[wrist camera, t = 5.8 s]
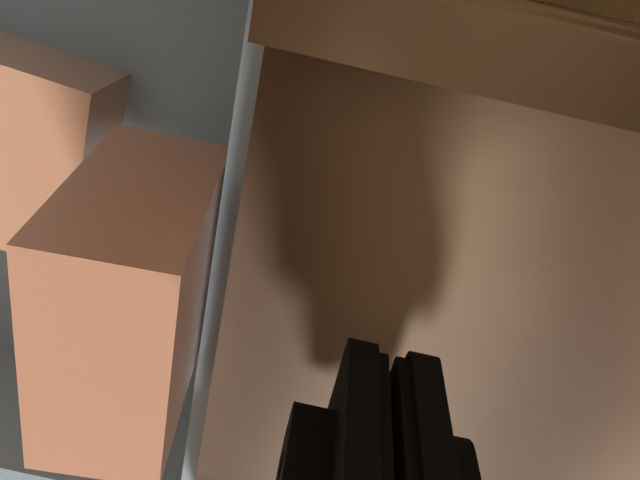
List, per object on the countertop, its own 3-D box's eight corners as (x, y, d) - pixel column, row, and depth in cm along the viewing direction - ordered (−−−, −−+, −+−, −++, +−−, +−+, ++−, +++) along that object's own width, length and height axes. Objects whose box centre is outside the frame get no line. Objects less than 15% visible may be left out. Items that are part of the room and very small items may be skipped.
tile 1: (181, 276, 9) (5, 244, 8) (158, 487, 11) (24, 468, 11) (231, 146, 13) (116, 123, 13) (207, 321, 15) (111, 304, 15)
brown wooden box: (850, 75, 15) (1346, 213, 7) (613, 454, 21) (745, 737, 14) (319, -52, 15) (260, -44, 7) (239, 371, 21) (164, 615, 13)
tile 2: (-126, 23, 13) (-54, 11, 15) (-118, 213, 15) (-56, 179, 18) (91, 94, 13) (131, 72, 16) (68, 270, 16) (106, 229, 18)
